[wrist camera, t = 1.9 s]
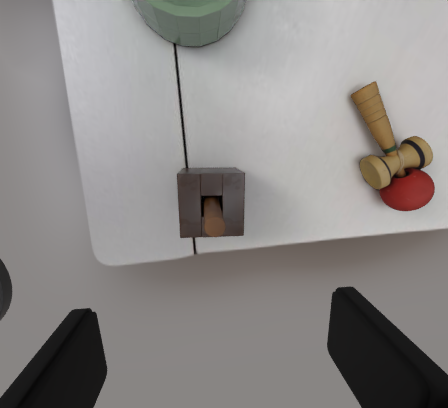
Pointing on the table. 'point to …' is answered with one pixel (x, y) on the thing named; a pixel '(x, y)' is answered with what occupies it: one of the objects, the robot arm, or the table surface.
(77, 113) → the table surface
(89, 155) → the table surface
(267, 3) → the table surface
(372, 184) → the kendama
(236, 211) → the holder
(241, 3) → the mixing bowl
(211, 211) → the stick
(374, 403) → the robot arm
